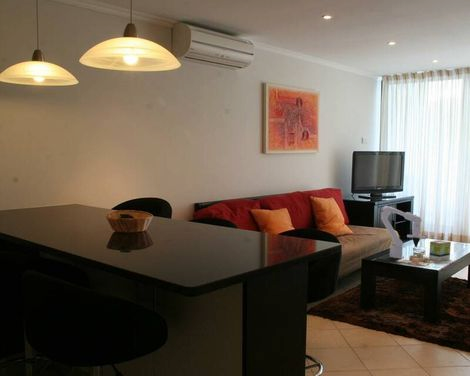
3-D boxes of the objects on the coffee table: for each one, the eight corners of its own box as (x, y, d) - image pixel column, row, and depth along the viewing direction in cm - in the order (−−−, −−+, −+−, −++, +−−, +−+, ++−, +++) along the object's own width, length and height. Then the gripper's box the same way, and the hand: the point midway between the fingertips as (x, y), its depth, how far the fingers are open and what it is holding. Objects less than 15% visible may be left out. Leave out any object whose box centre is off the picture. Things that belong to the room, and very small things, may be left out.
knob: (412, 262, 369) (412, 258, 368) (414, 261, 372) (414, 257, 372) (417, 263, 366) (417, 259, 366) (419, 262, 369) (419, 258, 369)
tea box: (440, 261, 379) (440, 243, 378) (428, 259, 387) (429, 241, 386) (450, 259, 388) (451, 241, 387) (438, 256, 396) (439, 239, 395)
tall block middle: (416, 261, 378) (416, 253, 377) (418, 260, 381) (418, 252, 380) (421, 262, 375) (421, 254, 375) (423, 261, 378) (423, 253, 378)
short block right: (423, 262, 374) (423, 257, 374) (424, 261, 377) (425, 257, 377) (428, 263, 371) (428, 258, 371) (429, 262, 374) (430, 257, 374)
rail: (397, 261, 376) (397, 260, 376) (401, 260, 382) (401, 259, 382) (425, 266, 361) (425, 265, 361) (428, 264, 367) (428, 263, 367)
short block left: (409, 260, 381) (409, 255, 381) (411, 259, 384) (411, 255, 384) (414, 261, 379) (414, 256, 379) (416, 260, 382) (416, 255, 381)
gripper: (406, 230, 391) (405, 246, 392) (424, 232, 382) (423, 248, 383) (408, 229, 396) (408, 245, 397) (426, 231, 387) (426, 247, 388)
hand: (415, 246), depth 390 cm, fingers closed
